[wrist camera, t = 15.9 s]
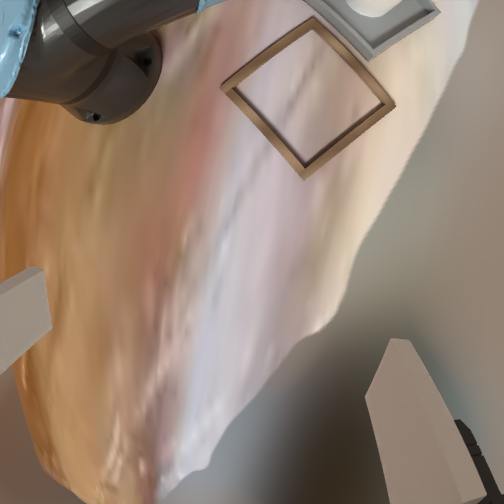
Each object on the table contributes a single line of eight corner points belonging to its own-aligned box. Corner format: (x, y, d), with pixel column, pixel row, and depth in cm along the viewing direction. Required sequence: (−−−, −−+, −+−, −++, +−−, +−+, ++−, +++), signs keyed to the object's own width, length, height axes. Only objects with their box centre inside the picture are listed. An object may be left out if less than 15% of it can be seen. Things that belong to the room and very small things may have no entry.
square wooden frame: (220, 89, 34) (219, 87, 33) (312, 20, 30) (313, 17, 29) (303, 180, 36) (304, 180, 35) (394, 107, 32) (396, 106, 31)
